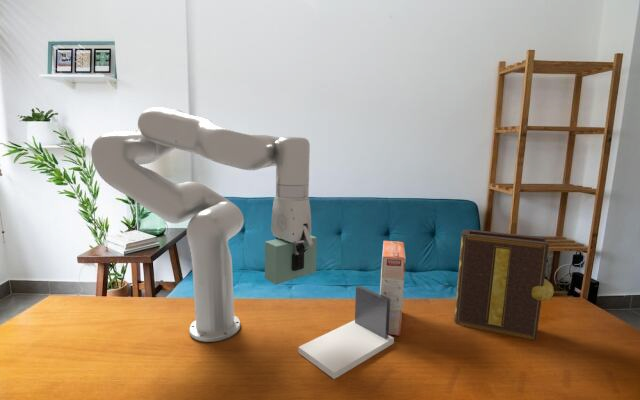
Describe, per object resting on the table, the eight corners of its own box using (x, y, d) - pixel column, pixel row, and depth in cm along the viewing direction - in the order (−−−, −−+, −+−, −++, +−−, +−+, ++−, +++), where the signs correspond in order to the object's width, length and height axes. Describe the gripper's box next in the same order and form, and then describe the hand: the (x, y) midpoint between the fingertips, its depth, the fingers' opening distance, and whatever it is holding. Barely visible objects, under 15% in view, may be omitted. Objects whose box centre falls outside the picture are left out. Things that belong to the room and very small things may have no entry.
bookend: (354, 322, 94) (355, 286, 92) (357, 321, 95) (359, 285, 93) (385, 339, 87) (387, 300, 85) (388, 337, 88) (390, 299, 86)
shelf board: (298, 352, 84) (298, 346, 83) (357, 323, 97) (357, 318, 96) (334, 379, 75) (334, 372, 74) (393, 343, 88) (393, 337, 87)
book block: (264, 278, 85) (264, 241, 83) (304, 267, 93) (305, 233, 91) (275, 284, 81) (276, 246, 80) (315, 272, 89) (316, 237, 88)
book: (453, 326, 96) (461, 235, 91) (454, 312, 104) (462, 227, 99) (549, 345, 88) (563, 246, 83) (543, 328, 96) (555, 237, 91)
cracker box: (401, 337, 91) (406, 257, 87) (377, 334, 92) (381, 255, 88) (400, 310, 104) (404, 241, 100) (379, 308, 105) (382, 239, 101)
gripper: (258, 187, 87) (258, 259, 90) (302, 198, 75) (300, 281, 78) (284, 185, 92) (283, 253, 95) (329, 195, 79) (326, 273, 83)
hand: (291, 265), depth 87 cm, fingers closed on book block, 4 cm apart
